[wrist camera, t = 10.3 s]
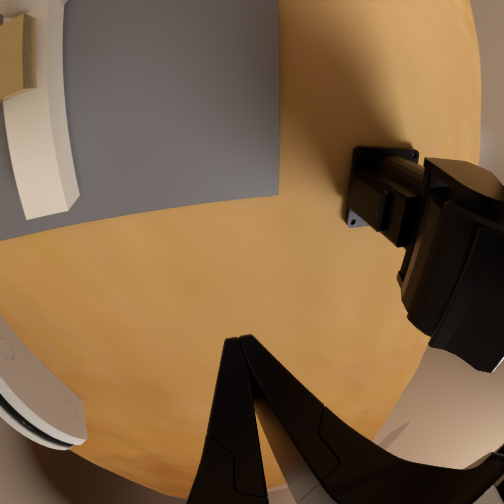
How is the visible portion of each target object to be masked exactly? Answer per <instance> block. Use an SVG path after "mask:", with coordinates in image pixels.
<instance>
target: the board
mask: <svg viewBox="0 0 504 504" xmlns="http://www.w3.org/2000/svg"><path fill="white" fill-rule="evenodd" d="M3 20H4V16H3V15H1V14H0V25H2V24H3ZM63 82H64V96H65V107H66V117H67V125H68V133H69V140H70V146H71V152H72V158H73V164H74V169H75V174H76V179H77V184H78V189H79V193H80V196H79V197H78V198H77V200H76V201H75V202H74V204H73V205H72V206H71V208H70V209H69V210H68V211H65V212H60V213H56V214H51V215H46V216H42V217H38V218H33V219H29V220H26V216H25V213H24V210H23V206H22V203H21V199H20V196H19V192H18V188H17V184H16V180H15V176H14V171H13V166H12V162H11V157H10V151H9V146H8V139H7V133H6V126H5V117H4V108H3V109H0V241H3V240H7V239H11V238H15V237H19V236H23V235H28V234H32V233H36V232H41V231H45V230H50V229H55V228H60V227H64V226H69V225H74V224H79V223H85V222H90V221H95V220H101V219H106V218H112V217H117V216H123V215H129V214H135V213H141V212H147V211H154V210H160V209H167V208H174V207H181V206H188V205H195V204H203V203H211V202H219V201H227V200H236V199H245V198H254V197H263V196H274V195H278V194H279V21H278V0H68V1H67V2H66V3H65V5H64V15H63Z"/></svg>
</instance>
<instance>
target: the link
mask: <svg viewBox="0 0 504 504" xmlns="http://www.w3.org/2000/svg"><path fill="white" fill-rule="evenodd" d="M67 1H68V0H0V14H1V15H3V16H4V20H3V24H4V23H6V22H8V21H10V20H12V19H14V18H16V17H18V16H20V15H22V14H27V15H29V16H32V17H34V18H37V21H36V77H37V88H35V89H32V90H30V91H27V92H25V93H23V94H20V95H18V96H16V97H13V98H11V99H9V100H7V101H4V102H3V108H4V117H5V126H6V133H7V139H8V146H9V151H10V157H11V162H12V166H13V171H14V176H15V180H16V184H17V188H18V192H19V196H20V199H21V203H22V206H23V210H24V213H25V216H26V220H29V219H33V218H38V217H42V216H46V215H51V214H56V213H60V212H65V211H68V210H69V209H70V208H71V206H72V205H73V204H74V202H75V201H76V200H77V198H78V197H79V196H80V193H79V189H78V184H77V179H76V174H75V169H74V164H73V158H72V152H71V146H70V140H69V133H68V125H67V117H66V107H65V96H64V82H63V15H64V5H65V3H66V2H67Z"/></svg>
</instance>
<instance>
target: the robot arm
mask: <svg viewBox="0 0 504 504" xmlns="http://www.w3.org/2000/svg"><path fill="white" fill-rule="evenodd" d="M361 150H362V153H361V155H359V152H360V151H361ZM413 154H414V156H413ZM418 159H419V152H418V151H417V150H415V149H411V148H398V147H382V146H357V147H355V149H354V151H353V160H352V170H351V175H350V181H349V190H348V198H347V212H346V220H345V223H346V224H347V225H348V226H349V227H350V228H354V227H362V226H371V227H372V228H373V229H374V230H375V231H376V232H380V233H381V234H383V235H384V236H385V237H386V238H387V239H388V240H389V241H391V242H392V243H393V244H394V245H395V246H396V247H403V248H404V249H405V250H406V252H405V256H404V259H403V263H402V266H401V269H400V271H398V274H397V281H398V283H399V286H400V288H401V300H402V302H403V304H404V306H405V308H406V310H407V312H408V314H407V318H408V320H409V321H410V322H411V323H412V324H413V325H414V326H415V327H416V328H417V329H418V330H420V331H421V332H422V333H424V334H425V335H427V336H429V337H431V339H430V340H429V342H428V345H429V346H430V347H433V348H438V349H443V350H446V351H448V352H450V353H453V354H455V355H457V356H458V357H460V358H461V359H463V360H464V361H466V362H467V363H468V364H470V365H471V366H472V367H473V368H475V369H476V370H478V371H483V372H489V373H491V372H493V371H494V370H495V369H496V368H497V367H498V365H499V364H500V363H501V361H502V360H503V359H504V186H503V185H502V183H501V182H500V181H499V180H498V179H497V177H496V176H495V175H494V174H493V173H492V172H490V171H488V170H486V169H483V168H481V167H479V166H476V165H474V164H472V163H469V162H466V161H459V160H450V159H439V158H428V157H425V159H424V165H423V166H424V167H423V166H421V165H419V164H418ZM351 220H353V221H352V222H351ZM350 222H351V223H350ZM255 411H256V414H257V416H258V419H259V421H260V423H261V426H262V428H263V431H264V433H265V435H266V438H267V440H268V442H269V445H270V447H271V449H272V451H273V454H274V456H275V458H276V460H277V463H278V465H279V467H280V469H281V471H282V474H283V476H284V478H285V480H286V482H287V484H288V487H289V489H290V491H291V493H292V495H293V497H294V499H295V501H296V503H297V504H504V444H503V445H502V446H500V447H499V448H498V449H497V450H496V451H495V452H491V453H488V454H487V455H485V456H483V457H482V458H480V459H479V460H477V461H476V462H474V463H473V464H471V465H469V466H468V467H466V468H465V469H451V468H445V467H438V466H432V465H426V464H420V463H415V462H410V461H407V460H404V459H401V458H398V457H396V456H394V455H392V454H391V453H389V452H387V451H386V450H384V449H383V448H381V447H380V446H378V445H376V444H375V443H373V442H372V441H370V440H369V439H367V438H366V437H364V436H363V435H361V434H360V433H358V432H357V431H355V430H354V429H353V428H351V427H350V426H348V425H347V424H346V423H345V422H343V421H342V420H341V419H340V418H339V417H337V416H336V415H335V414H334V413H333V412H332V411H331V410H329V409H328V408H327V407H326V406H325V407H324V404H323V403H322V402H321V401H320V400H318V399H317V398H316V397H315V396H314V395H313V394H312V393H311V392H310V391H309V390H308V389H307V388H306V387H305V386H304V385H303V384H302V383H300V382H299V381H298V380H297V379H296V378H295V377H294V376H293V375H292V374H291V373H290V372H289V371H288V370H287V369H286V368H285V367H284V366H283V365H282V364H281V363H280V362H279V361H278V360H277V359H276V358H275V357H274V356H273V355H272V354H271V353H270V352H269V351H268V350H267V349H266V348H265V347H264V346H263V345H262V344H261V343H260V342H259V341H258V340H257V339H256V338H255V337H254V336H253V335H251V334H248V335H243V336H240V337H239V338H238V337H232V338H226V339H225V341H224V346H223V351H222V356H221V361H220V366H219V371H218V376H217V381H216V387H215V392H214V397H213V402H212V407H211V412H210V418H209V423H208V428H207V434H206V438H205V443H204V448H203V452H202V457H201V461H200V464H199V467H198V471H197V474H196V477H195V480H194V483H193V485H192V488H191V491H190V494H189V496H188V499H187V502H186V504H269V500H268V498H267V497H268V494H267V488H266V482H265V475H264V469H263V463H262V456H261V449H260V443H259V436H258V429H257V423H256V416H255Z"/></svg>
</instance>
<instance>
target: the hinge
mask: <svg viewBox="0 0 504 504" xmlns="http://www.w3.org/2000/svg"><path fill="white" fill-rule="evenodd" d="M0 417H1V418H2V419H4V420H5V421H6V422H7V423H8V424H9V425H11V426H12V427H13V428H14V429H16V430H17V431H18V432H20V433H21V434H23V435H24V436H26V437H28V438H29V439H31V440H33V441H35V442H37V443H39V444H41V445H44V446H47V447H50V448H54V449H59V450H66V449H72V448H73V445H81V444H82V443H83V442H85V441H86V440H87V439H88V435H87V430H86V424H85V418H84V411H83V405H82V399H80V398H79V397H78V396H77V395H76V394H75V393H73V392H72V391H71V390H70V389H69V388H68V387H67V386H66V385H64V384H63V383H62V382H61V381H60V380H59V379H58V378H57V377H56V376H55V375H54V374H53V373H52V372H51V371H50V370H49V369H48V368H47V367H46V366H45V365H44V364H43V363H42V362H41V361H40V360H39V359H38V358H37V357H36V356H35V355H34V354H33V353H32V352H31V351H30V349H29V348H28V347H27V346H26V345H25V344H24V343H23V342H22V341H21V339H20V338H19V337H18V336H17V335H16V334H15V332H14V331H13V330H12V329H11V328H10V326H9V325H8V324H7V323H6V321H5V320H4V319H3V318H2V316H1V315H0Z"/></svg>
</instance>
